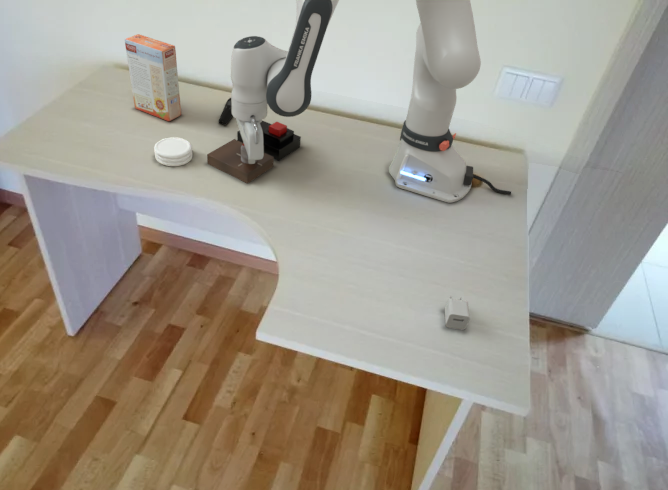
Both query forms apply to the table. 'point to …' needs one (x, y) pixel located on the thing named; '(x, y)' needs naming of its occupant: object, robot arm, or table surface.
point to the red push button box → (277, 142)
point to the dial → (244, 155)
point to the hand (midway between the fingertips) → (249, 156)
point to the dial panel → (238, 162)
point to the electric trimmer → (226, 113)
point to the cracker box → (153, 76)
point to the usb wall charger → (457, 314)
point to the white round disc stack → (173, 151)
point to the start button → (277, 129)
